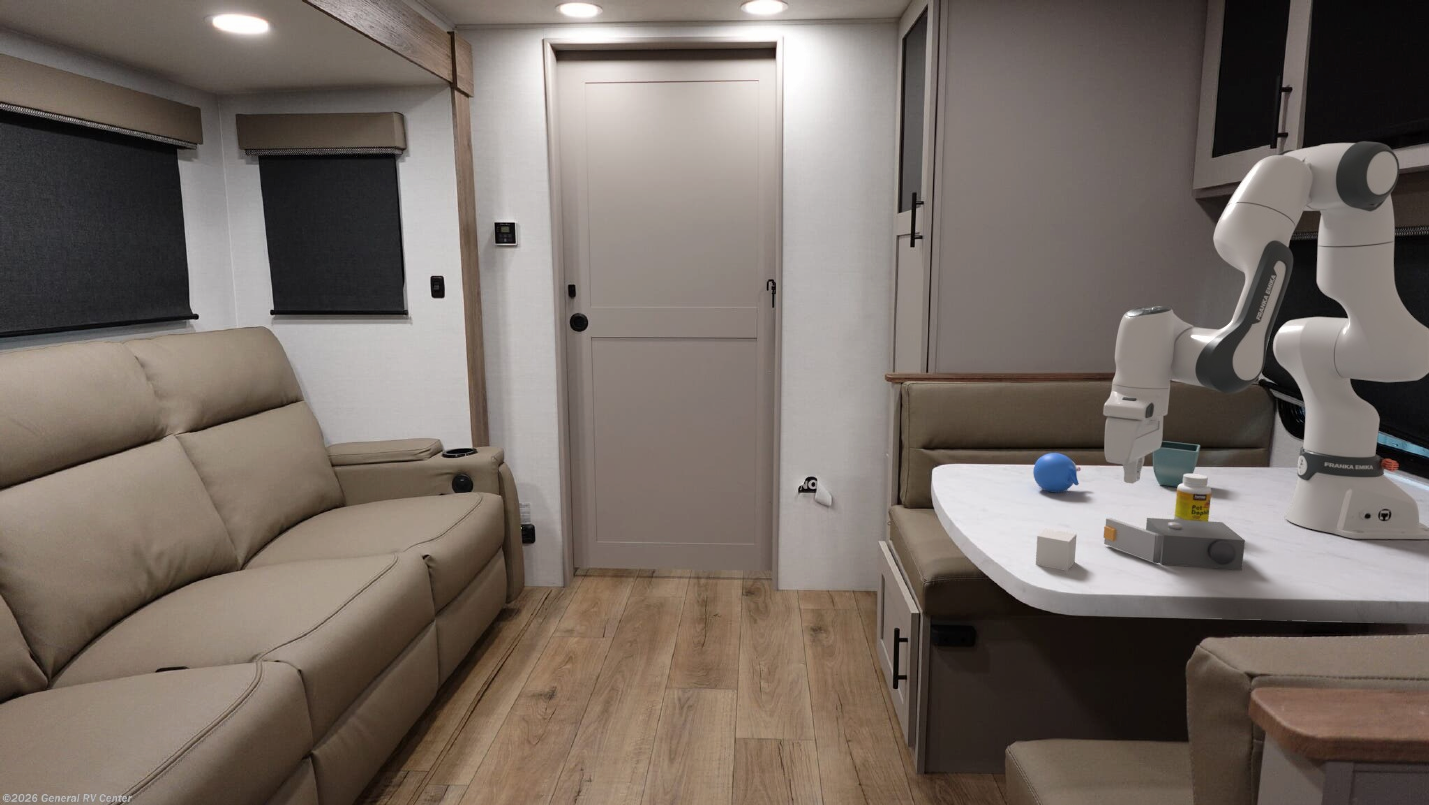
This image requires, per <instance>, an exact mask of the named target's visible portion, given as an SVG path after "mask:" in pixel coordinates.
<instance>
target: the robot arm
mask: <svg viewBox="0 0 1429 805" xmlns="http://www.w3.org/2000/svg"><path fill="white" fill-rule="evenodd" d="M1399 176H1400V163H1399V159H1398V157H1397V155H1396V154H1395V152H1394V150H1392V148H1391V147H1390V146H1388V145H1387V144H1385V143H1382V142H1376V141H1366V140H1364V141H1358V142H1337V143H1336V142H1335V143H1325V144H1320V145H1316V146H1310V147H1304V148H1300V149H1289V150H1284V151H1280V152H1278V153H1275V154H1272V155H1270V156H1267V157H1264V158H1262V159H1260V160H1258V162H1256V163H1255V164H1254V165H1253V166H1252V168H1251V169H1250V170H1249V172H1247V174H1246V175H1245V176H1244V178H1243V179H1242V181H1241V182H1240V184H1239V185H1238V186H1237V188H1236V189H1235V191H1234V193H1233V194H1232V195H1231V197H1230V199H1229V200H1228V203H1227V204H1226V206H1225V208H1224V210H1223V211H1222V213H1221V215H1220V217H1219V218H1218V222H1217V223H1216V226H1215V228H1214V233H1213V238H1212V239H1213V244H1214V248H1215V250H1216V252H1217V254H1218V255H1219V256H1220V258H1222V260H1223V261H1225V262H1226V263H1227V264H1229V265H1230V266H1231V267H1234V268H1235V269H1236V270H1238V271H1240V272H1241V273H1244V276H1245V281H1244V285H1243V287H1242V291H1241V293H1240V296H1239V299H1238V301H1237V304H1236V307H1235V311H1234V313H1233V316H1232V319H1231V320H1230V322H1229V323H1228V324H1227V325H1226V326H1224V327H1221V328H1220V329H1214V328H1204V327H1198V326H1194V325H1193V324H1190V323H1188V322H1187V321H1186V322H1185V321H1184V320H1182V319H1181V318H1180V317H1178V315H1176V314H1175V313H1174V310H1173V309H1172V308H1171V307H1169V306H1164V305H1163V306H1161V305H1152V306H1142V307H1135V308H1132V309H1130V310H1129V311H1126V312H1125V313H1124V314H1123V316H1122V317H1121V321H1120V322H1119V326H1118V330H1117V336H1116V339H1115V340H1116V342H1115V350H1114V363H1115V374H1114V377H1113V379H1112V383H1111V392H1110V396H1109V397H1108V398H1107V400H1106V401H1105V403H1104V405H1103V413H1102V414H1103V416H1105V417H1106V420H1105V425H1104V426H1105V427H1104V457H1105V461H1106V462H1108V463H1111V464H1116V465H1122V469H1123V473H1124V474H1123V481H1124V483H1126V484H1135V483H1136V482H1138V481H1140V479H1141V472H1142V469H1143V466H1144V463H1145V458H1146V457H1145V456H1148V455H1149V454H1151V453H1152V454H1153V452H1154V451H1156V450H1158V449H1159V448H1160V447H1161V443H1162V441H1163V434H1164V433H1163V431H1164V416H1167V415H1168V414H1169V413H1168V411H1169V410H1168V409H1169V404H1170V403H1169V400H1170V390H1171V381H1173V382H1178V383H1184V384H1187V385H1193V386H1197V387H1198V386H1199V387H1204V388H1206V389H1210V390H1214V391H1217V392H1220V393H1224V394H1230V395H1231V394H1236V393H1240V392H1242V391H1244V390H1246V389H1247V388H1249V387H1250V386H1251V385H1253V384H1254V383H1255V381H1256V380H1257V379H1259V377H1260V376H1261V374H1262V372H1263V370H1264V367H1265V362H1266V357H1267V348H1268V344H1269V340H1270V336H1271V333H1272V331H1273V327H1274V325H1275V321H1276V319H1277V316H1278V314H1279V310H1280V307H1281V305H1282V302H1283V300H1284V296H1285V294H1286V290H1287V288H1288V285H1289V282H1290V278H1291V275H1292V271H1293V266H1294V256H1293V253H1292V251H1291V249H1290V248H1289V246H1290V240H1291V238H1292V236H1293V234H1294V231H1295V229H1296V228H1297V226H1298V224H1299V221H1300V220H1301V217H1302V214H1303V212H1306V211H1307V212H1309V211H1310V212H1313V211H1314V212H1316V211H1317V212H1320V214H1321V215H1320V220H1319V225H1318V234H1317V236H1318V237H1317V255H1316V257H1317V261H1316V284H1317V287H1318V288H1319V290H1320V292H1322V294H1324V295H1325V296H1327V297H1328V298H1331V299H1332V300H1335V301H1336V302H1337V303H1339V305H1341V306H1342V308H1343V309H1344V310H1345V312H1346V314H1347V315H1346V316H1347V318H1345V317H1329V316H1328V317H1327V316H1313V317H1304V318H1295V319H1291V320H1288V321H1286V322H1285V323H1284V324H1283V325H1281V327H1280V328H1278V331H1277V332H1276V333H1275V336H1274V338H1273V342H1272V343H1273V344H1272V351H1273V355H1274V357H1275V359H1276V361H1277V363H1278V364H1279V365H1280V366H1281V367H1282V368H1283V369H1285V370H1286V371H1287V372H1288V373H1289V374H1290V376H1291V377H1292V378H1293V379H1294V381H1295V382H1296V384H1297V386H1298V388H1299V389H1300V393H1301V395H1302V398H1303V403H1304V408H1305V411H1304V412H1305V415H1304V416H1305V420H1304V421H1305V422H1304V437H1303V445H1302V447H1300V449H1299V456H1298V458H1297V482H1296V486H1295V490H1294V494H1293V496H1292V499H1291V502H1290V504H1289V507H1288V508H1287V509H1288V510H1287V511H1286V513H1285V515H1284V518H1285V519H1286V520H1287V521H1289V522H1290V523H1292V524H1295V525H1298V526H1300V527H1303V528H1307V529H1309V530H1311V529H1312V530H1315V531H1319V532H1325V533H1329V534H1334V535H1338V536H1341V537H1345V538H1350V539H1355V540H1356V539H1357V540H1360V539H1361V540H1364V539H1365V540H1389V539H1390V540H1429V527H1428V526H1427V525H1424V524H1423V523H1421V522H1420V511H1419V506H1418V504H1417V502H1416V500H1415V499H1414V497H1413V496H1411V495H1410V494H1408V493H1407V492H1406V491H1405V490H1404V489H1402V488H1401V487H1400V486H1398V485H1397V484H1396V483H1394V482H1393V481H1392V480H1391V479H1390V478H1389V477H1387V476H1386V475H1385V472H1384V471H1385V470H1387V471H1388V472H1395V471H1396V470H1398V469H1399V463H1398V462H1397V461H1396V460H1392V459H1391V458H1383V457H1381V456H1380V455H1378V454H1376V452H1377V451H1376V450H1377V444H1378V437H1379V430H1380V429H1379V428H1380V419H1381V418H1380V416H1379V413H1378V411H1377V409H1376V408H1375V406H1373V405H1372V404H1370V403H1369V402H1368V401H1366V400H1364V399H1362V398H1361V397H1360V396H1359V395H1357V393H1356V392H1355V391H1354V388H1353V387H1352V386H1353V385H1352V384H1351V379H1353V380H1362V381H1363V380H1364V381H1371V382H1380V383H1381V382H1382V383H1395V382H1396V383H1397V382H1398V383H1399V382H1412V381H1419V380H1420V379H1423V378H1424V377H1425V376H1426V375H1428V374H1429V328H1428V327H1427V326H1425V325H1424V324H1423V323H1421V322H1419V321H1418V320H1417V319H1416V318H1414V316H1413V315H1411V313H1410V312H1409V310H1407V308H1406V306H1405V305H1404V304H1403V302H1402V300H1401V297H1400V296H1399V294H1398V290H1397V287H1396V281H1395V266H1394V265H1395V264H1394V261H1395V260H1394V258H1395V236H1396V235H1395V234H1396V233H1395V232H1396V230H1395V228H1396V227H1395V214H1394V205H1393V201H1392V195H1391V194H1392V192H1393V190H1394V189H1395V187H1396V185H1397V182H1398V180H1399Z"/></svg>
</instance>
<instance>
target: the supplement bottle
mask: <svg viewBox="0 0 1429 805" xmlns="http://www.w3.org/2000/svg"><path fill="white" fill-rule="evenodd" d="M1208 479H1209V478H1208V476H1207V475H1204V474H1198V473H1193V474H1184V475H1183V483H1182V484H1179V485H1178V487H1176V498H1175V505H1174V506H1175V509H1174V516H1173V517H1174V519H1176V520H1193V521H1209V519H1210V518H1209V517H1210V510H1211V509H1210V507H1211V498H1212V489H1211V487H1209V486H1208V483H1209V482H1208Z"/></svg>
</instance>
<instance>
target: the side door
mask: <svg viewBox="0 0 1429 805" xmlns="http://www.w3.org/2000/svg"><path fill="white" fill-rule="evenodd" d="M1103 539H1104V540H1103V544H1104V545H1106V546H1109V547H1112V548H1113V549H1117V550H1120V551H1123V552H1125V553H1127V554H1130V555H1133V556H1136V557H1138V558H1141V559H1143V560H1146V561H1149V562H1152V563H1155V564H1161V563H1160V559H1161V548H1162V535H1160V534H1157V533H1154V532H1151V531H1148V530H1146V528H1145V529H1144V528H1142V527H1139V526H1136V525H1133V524H1129V523H1127V522H1123V521H1121V520H1117V519H1114V518H1112V517H1107V518H1105V526H1104V527H1103Z"/></svg>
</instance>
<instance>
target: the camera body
mask: <svg viewBox="0 0 1429 805" xmlns="http://www.w3.org/2000/svg"><path fill="white" fill-rule="evenodd" d="M1145 525H1146V527H1145V530H1148V531H1151V532H1154V533H1157V534H1160V535H1162V548H1161V559H1160V563H1159V564H1160V565H1163V566H1165V565H1166V566H1175V567H1176V566H1180V567H1190V568H1191V567H1194V568H1207V569H1208V568H1209V569H1222V570H1223V569H1224V570H1234V571H1235V570H1237V571H1238V570H1239V571H1242V570H1243V560H1244V552H1245V543H1246V539H1244V538H1243V537H1241V536H1240V535H1239V534H1238V533H1236V531H1234V530H1233V529H1232V528H1230V527H1229V526H1227V525H1226V524H1225V523H1224V522H1223V521H1210V520H1208V521H1193V520H1176V519H1173V518H1154V517H1146V524H1145Z"/></svg>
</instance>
